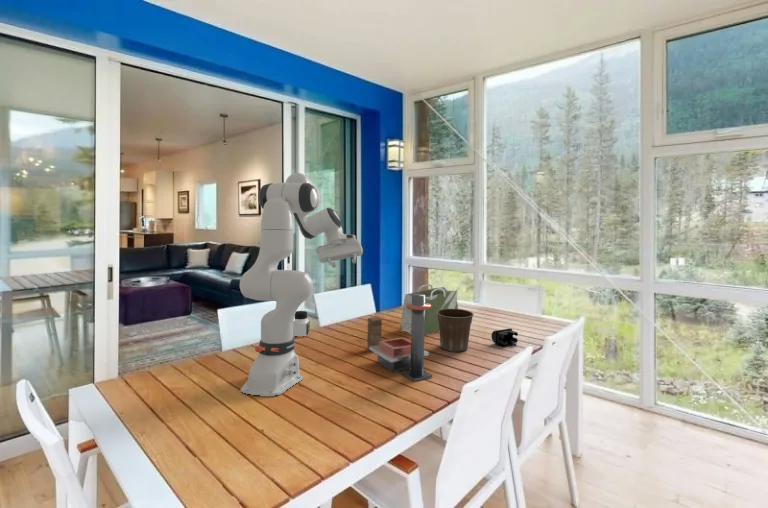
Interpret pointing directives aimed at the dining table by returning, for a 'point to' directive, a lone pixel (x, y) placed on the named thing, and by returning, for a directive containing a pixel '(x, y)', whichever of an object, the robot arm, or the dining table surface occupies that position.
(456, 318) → the plant pot
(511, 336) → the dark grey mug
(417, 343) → the bracket
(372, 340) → the tall wooden post
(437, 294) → the grocery bag
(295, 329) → the medicine bottle
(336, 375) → the dining table surface
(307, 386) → the dining table surface
